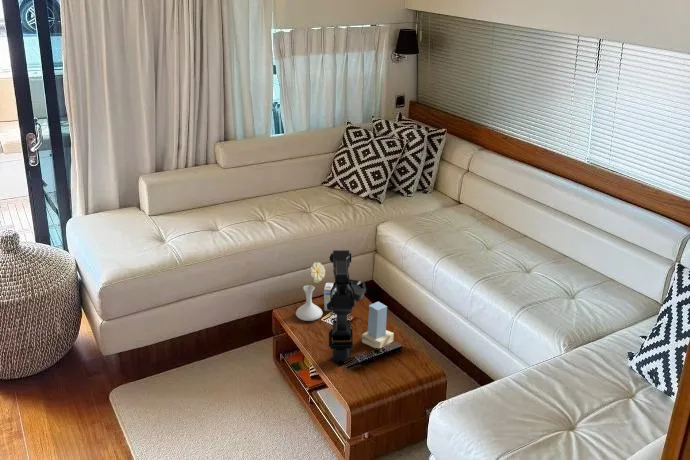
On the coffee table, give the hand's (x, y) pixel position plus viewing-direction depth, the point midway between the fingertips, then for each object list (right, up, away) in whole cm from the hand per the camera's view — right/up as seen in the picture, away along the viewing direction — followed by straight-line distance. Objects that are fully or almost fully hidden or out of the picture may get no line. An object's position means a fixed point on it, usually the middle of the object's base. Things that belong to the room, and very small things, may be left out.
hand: (347, 313), depth 267 cm
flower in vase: (-15, -4, +23) cm, 28 cm away
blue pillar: (+12, -9, +3) cm, 15 cm away
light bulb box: (-4, -1, +29) cm, 30 cm away
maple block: (+12, -12, +5) cm, 18 cm away
